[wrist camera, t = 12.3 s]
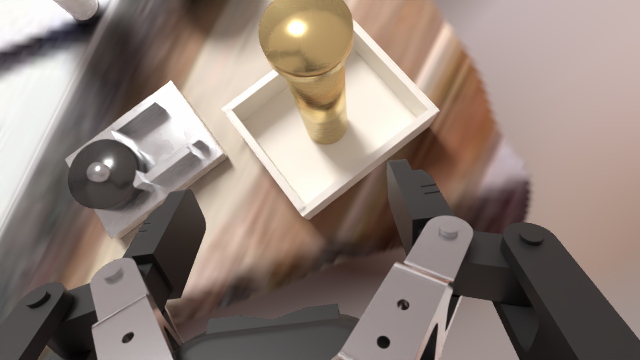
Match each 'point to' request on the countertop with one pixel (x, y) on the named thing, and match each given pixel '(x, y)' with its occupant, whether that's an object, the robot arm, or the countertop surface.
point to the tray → (359, 139)
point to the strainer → (79, 8)
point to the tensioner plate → (162, 153)
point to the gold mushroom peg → (311, 59)
